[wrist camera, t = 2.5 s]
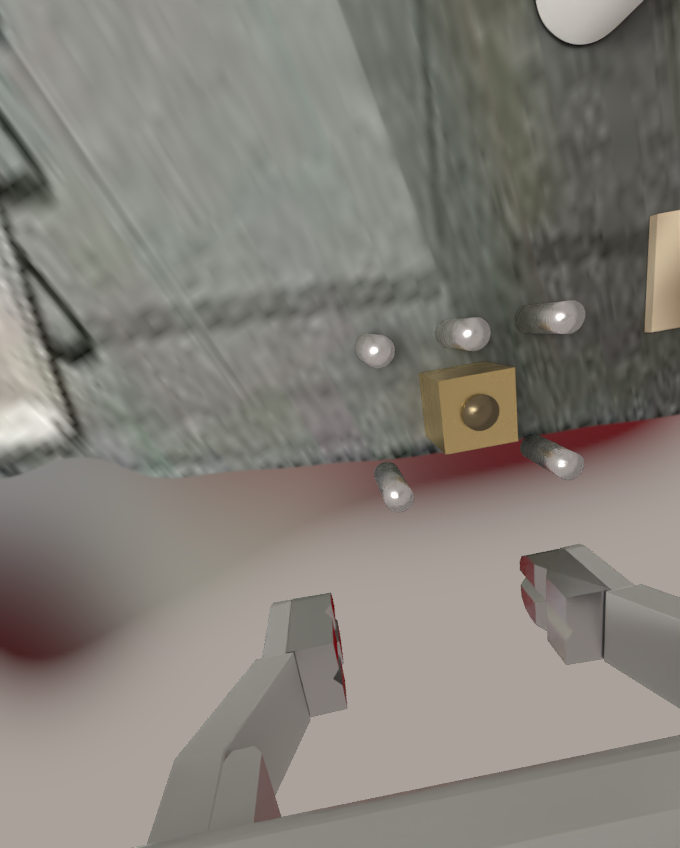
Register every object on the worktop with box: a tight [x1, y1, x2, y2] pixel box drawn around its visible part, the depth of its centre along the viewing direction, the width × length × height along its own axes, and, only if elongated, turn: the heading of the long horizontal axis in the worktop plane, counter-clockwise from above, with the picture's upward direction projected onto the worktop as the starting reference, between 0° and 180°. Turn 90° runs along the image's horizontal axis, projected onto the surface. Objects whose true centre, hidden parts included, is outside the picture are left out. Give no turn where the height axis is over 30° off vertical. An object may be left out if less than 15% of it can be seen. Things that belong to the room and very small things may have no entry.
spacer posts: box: [354, 300, 585, 512], centre depth 26 cm, size 14×12×4 cm
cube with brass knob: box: [419, 361, 518, 455], centre depth 26 cm, size 5×5×5 cm
